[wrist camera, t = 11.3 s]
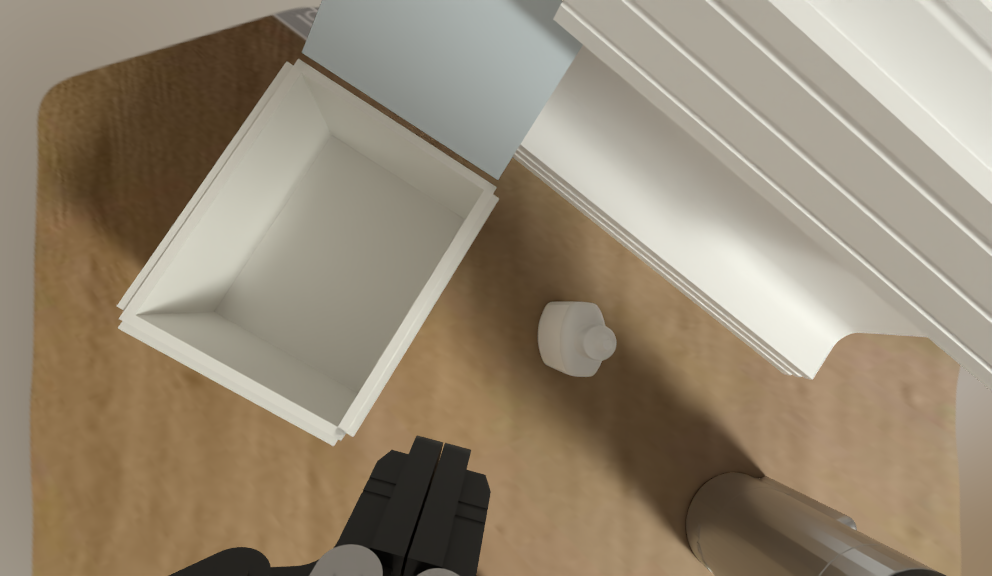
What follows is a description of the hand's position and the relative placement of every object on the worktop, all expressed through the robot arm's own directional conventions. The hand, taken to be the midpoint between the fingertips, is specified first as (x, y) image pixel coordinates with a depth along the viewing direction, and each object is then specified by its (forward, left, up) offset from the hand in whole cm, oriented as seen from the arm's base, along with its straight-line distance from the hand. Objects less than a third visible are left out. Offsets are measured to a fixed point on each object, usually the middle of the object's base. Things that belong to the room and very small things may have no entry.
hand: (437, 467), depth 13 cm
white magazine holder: (-25, -6, -30) cm, 39 cm away
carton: (+4, -9, -30) cm, 31 cm away
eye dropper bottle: (-12, +1, -30) cm, 32 cm away
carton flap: (-5, -18, -14) cm, 24 cm away
